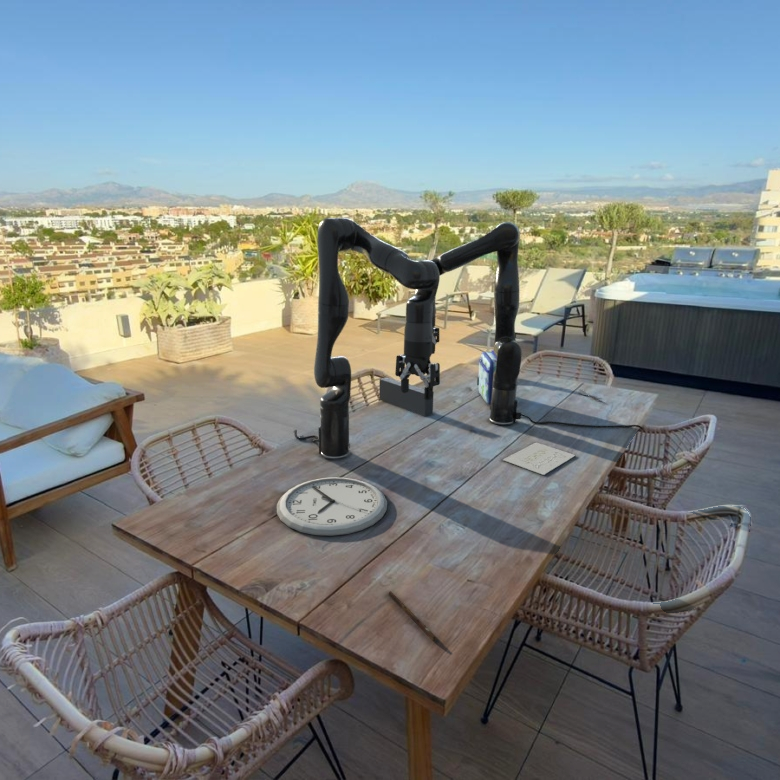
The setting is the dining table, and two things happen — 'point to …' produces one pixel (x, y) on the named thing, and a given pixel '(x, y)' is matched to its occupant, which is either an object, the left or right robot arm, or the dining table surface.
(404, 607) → the dark brown stick
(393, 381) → the bar
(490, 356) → the lunch box
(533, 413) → the dining table surface
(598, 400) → the fork
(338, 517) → the wall clock
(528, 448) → the invitation card
